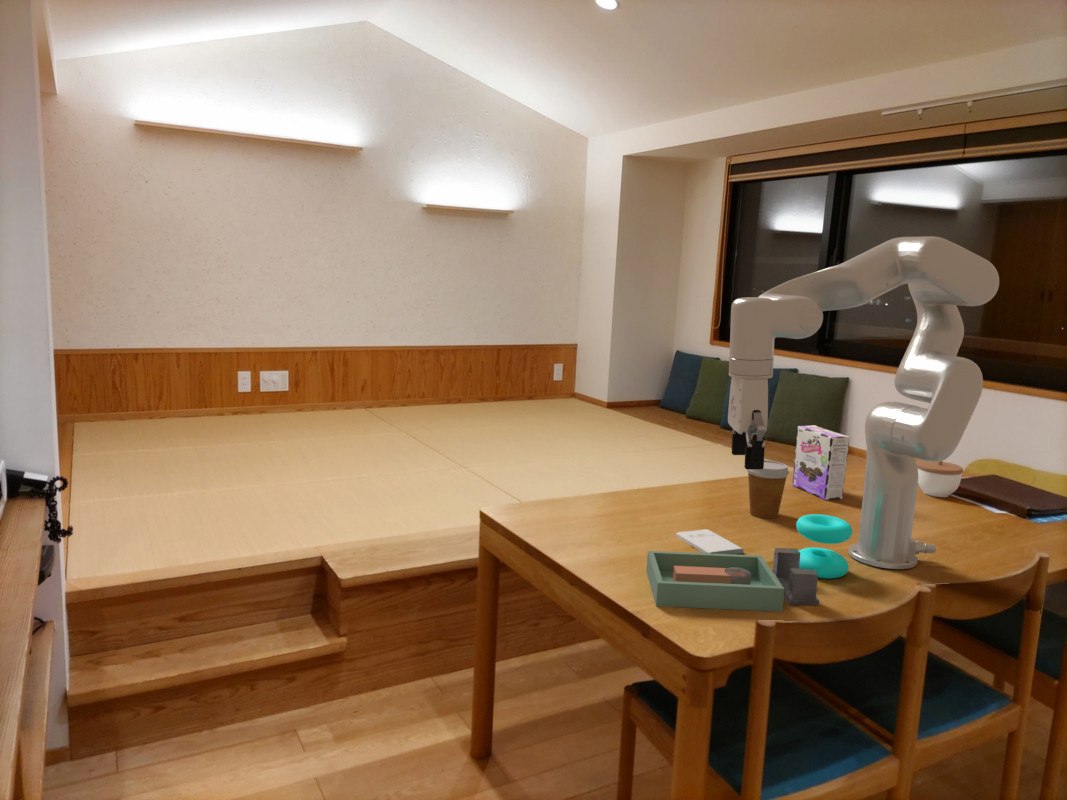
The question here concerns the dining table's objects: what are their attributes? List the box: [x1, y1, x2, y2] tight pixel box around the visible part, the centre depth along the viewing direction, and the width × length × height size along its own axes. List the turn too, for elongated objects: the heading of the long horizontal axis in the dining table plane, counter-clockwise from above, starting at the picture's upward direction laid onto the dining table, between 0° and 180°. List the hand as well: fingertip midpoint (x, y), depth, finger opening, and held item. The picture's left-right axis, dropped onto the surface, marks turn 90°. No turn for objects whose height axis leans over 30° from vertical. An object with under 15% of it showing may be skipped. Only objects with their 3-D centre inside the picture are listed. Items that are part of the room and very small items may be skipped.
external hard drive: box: [675, 528, 744, 555], centre depth 161 cm, size 2×8×12 cm
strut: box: [673, 566, 751, 585], centre depth 138 cm, size 13×5×3 cm, turn 88°
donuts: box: [795, 513, 853, 579], centre depth 148 cm, size 10×10×10 cm
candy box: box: [791, 424, 851, 501], centre depth 202 cm, size 14×6×16 cm, turn 17°
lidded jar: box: [916, 460, 964, 498], centre depth 204 cm, size 11×11×9 cm
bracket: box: [771, 547, 820, 607], centre depth 139 cm, size 13×5×6 cm, turn 178°
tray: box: [646, 550, 784, 613], centre depth 138 cm, size 21×15×4 cm
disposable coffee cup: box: [746, 459, 790, 519], centre depth 182 cm, size 10×10×12 cm
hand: (746, 461), depth 141 cm, fingers open, 9 cm apart
